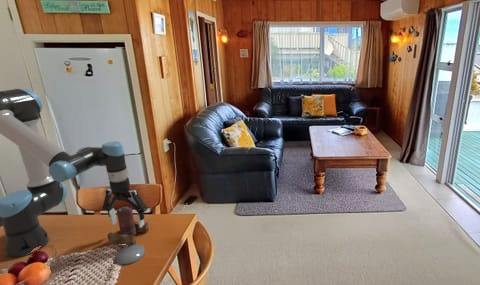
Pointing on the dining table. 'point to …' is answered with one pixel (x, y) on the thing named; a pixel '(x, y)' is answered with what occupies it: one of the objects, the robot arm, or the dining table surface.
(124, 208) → the can
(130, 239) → the rack
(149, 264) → the dining table surface
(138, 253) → the coaster
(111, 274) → the dining table surface
